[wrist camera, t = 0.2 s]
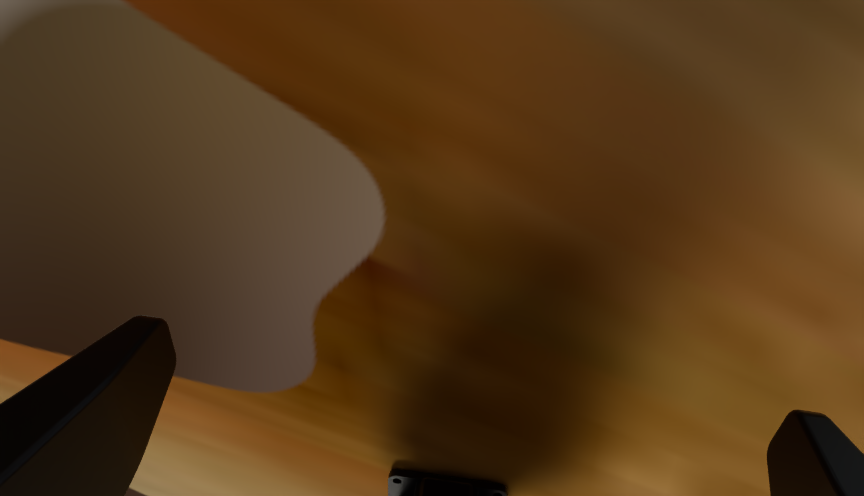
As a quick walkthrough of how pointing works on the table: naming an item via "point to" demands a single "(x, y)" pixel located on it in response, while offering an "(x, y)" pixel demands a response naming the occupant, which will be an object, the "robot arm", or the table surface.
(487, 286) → the table surface
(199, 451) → the table surface
